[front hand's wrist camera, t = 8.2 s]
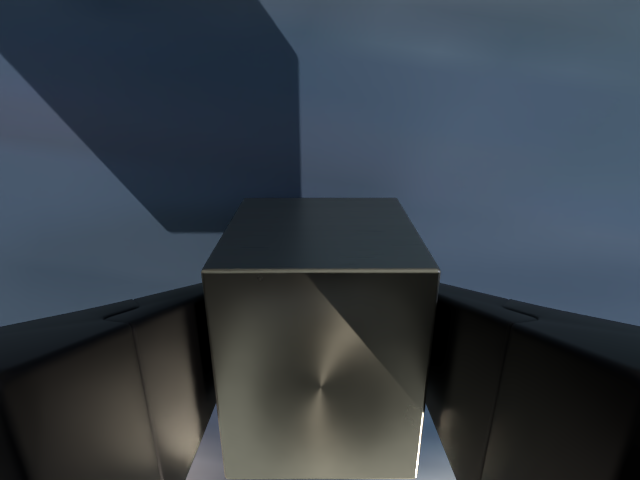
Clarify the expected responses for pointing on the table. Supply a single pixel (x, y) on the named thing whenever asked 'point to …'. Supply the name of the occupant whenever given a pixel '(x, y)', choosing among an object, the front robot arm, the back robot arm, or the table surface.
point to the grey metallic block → (320, 338)
